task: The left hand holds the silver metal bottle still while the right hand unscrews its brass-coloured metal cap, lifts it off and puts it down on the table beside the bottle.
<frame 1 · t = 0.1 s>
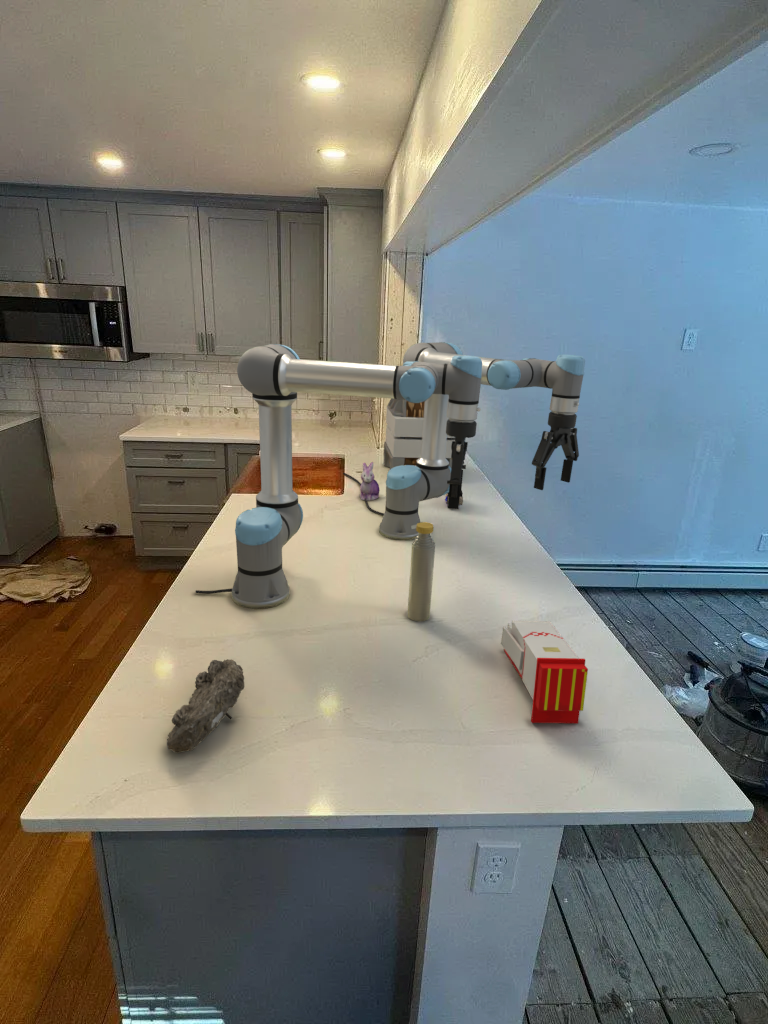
left hand: (454, 500, 149), 28 cm above the counter, tool pointing down, fingers open, 13 cm apart
right hand: (552, 485, 166), 28 cm above the counter, tool pointing down, fingers open, 13 cm apart
toy: (534, 680, 123), on the counter
bottle: (418, 615, 147), on the counter
cap: (424, 526, 139), point 25 cm above the counter, screwed on, not yet turned
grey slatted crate: (419, 473, 275), on the counter
fossil: (212, 717, 108), on the counter
figurine: (369, 498, 236), on the counter
figurine character: (452, 505, 232), on the counter
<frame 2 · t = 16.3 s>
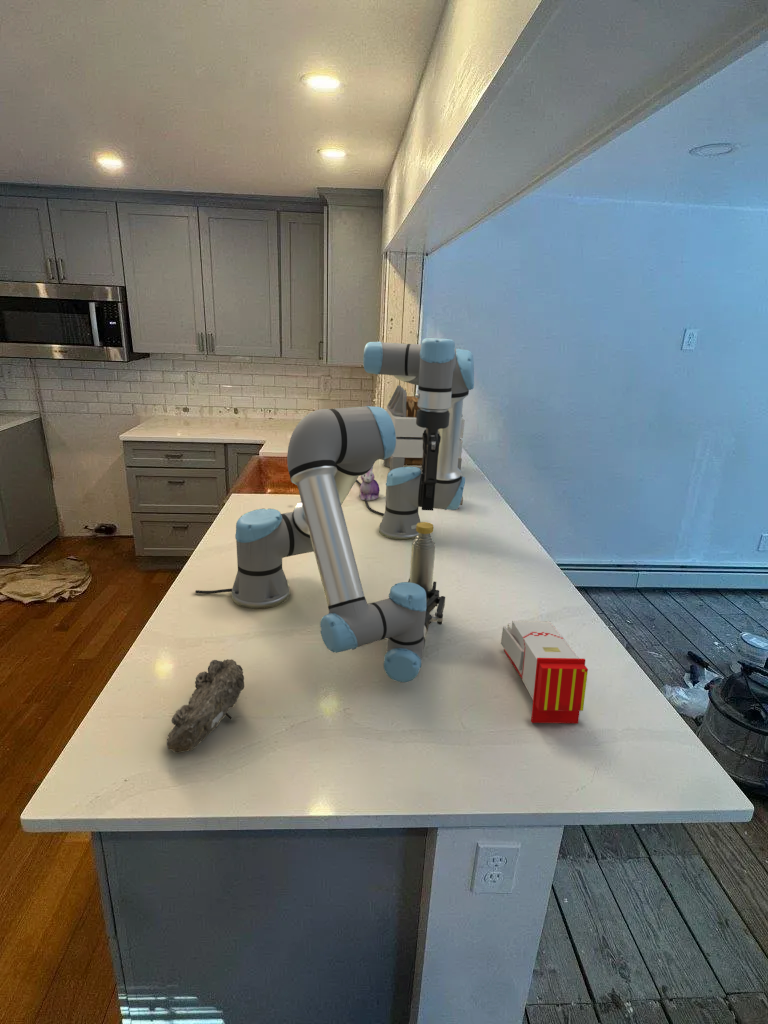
left hand: (422, 584, 150), 6 cm above the counter, tool horizontal, fingers closed on bottle, 6 cm apart
right hand: (426, 504, 137), 31 cm above the counter, tool pointing down, fingers open, 6 cm apart
bottle: (418, 615, 147), on the counter, touching left hand
everything else where it was.
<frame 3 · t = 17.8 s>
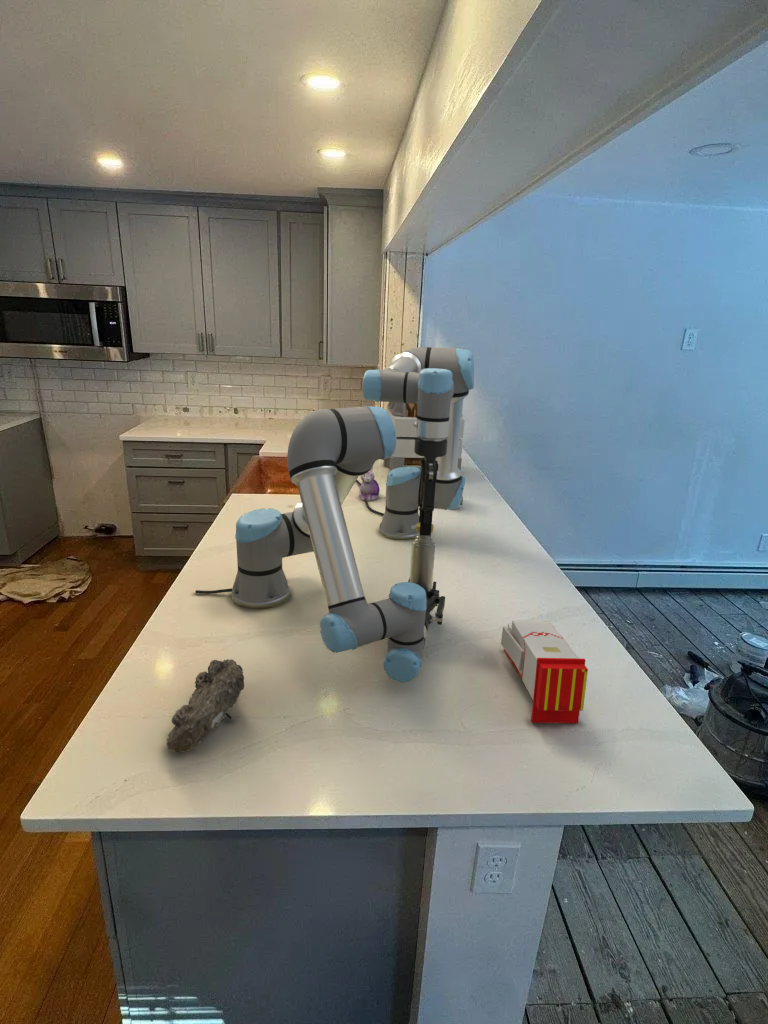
left hand: (422, 584, 150), 6 cm above the counter, tool horizontal, fingers closed on bottle, 6 cm apart
right hand: (424, 531, 139), 24 cm above the counter, tool pointing down, fingers closed on cap, 4 cm apart
bottle: (418, 615, 147), on the counter, touching left hand
cap: (424, 526, 139), point 25 cm above the counter, screwed on, not yet turned, touching right hand
everything else where it was.
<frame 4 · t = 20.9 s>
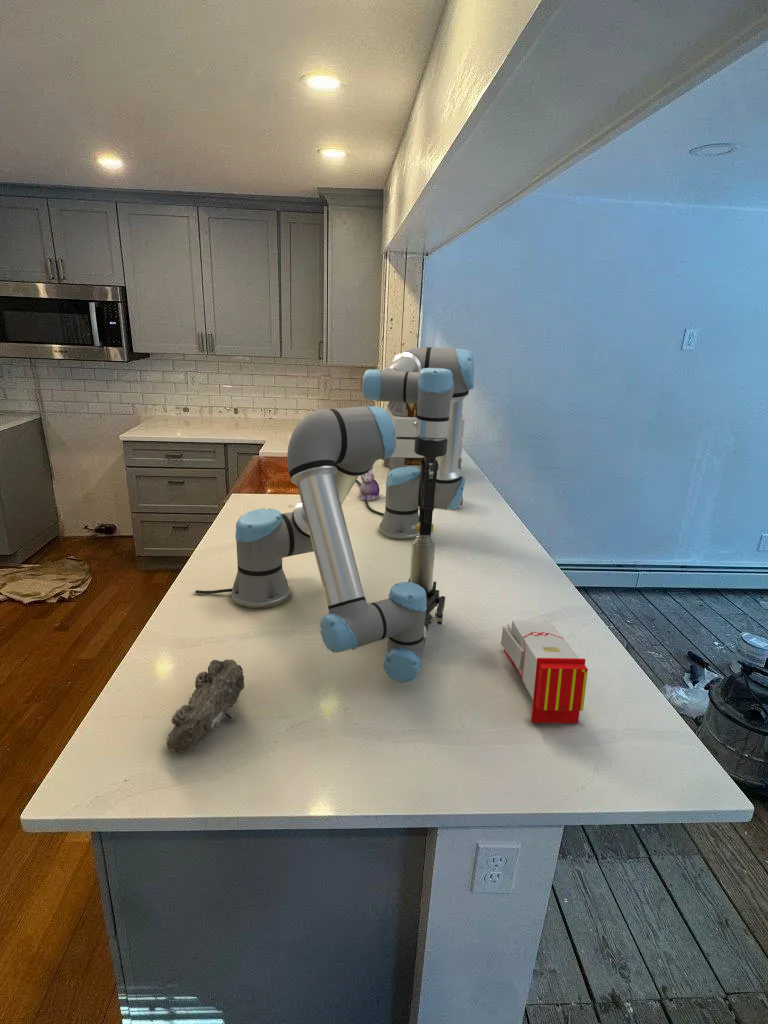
left hand: (422, 584, 150), 6 cm above the counter, tool horizontal, fingers closed on bottle, 6 cm apart
right hand: (424, 530, 139), 24 cm above the counter, tool pointing down, fingers closed on cap, 4 cm apart
bottle: (418, 615, 147), on the counter, touching left hand
cap: (424, 525, 139), point 25 cm above the counter, turned 77° so far, risen 0.1 cm, still on its thread, touching right hand
everything else where it was.
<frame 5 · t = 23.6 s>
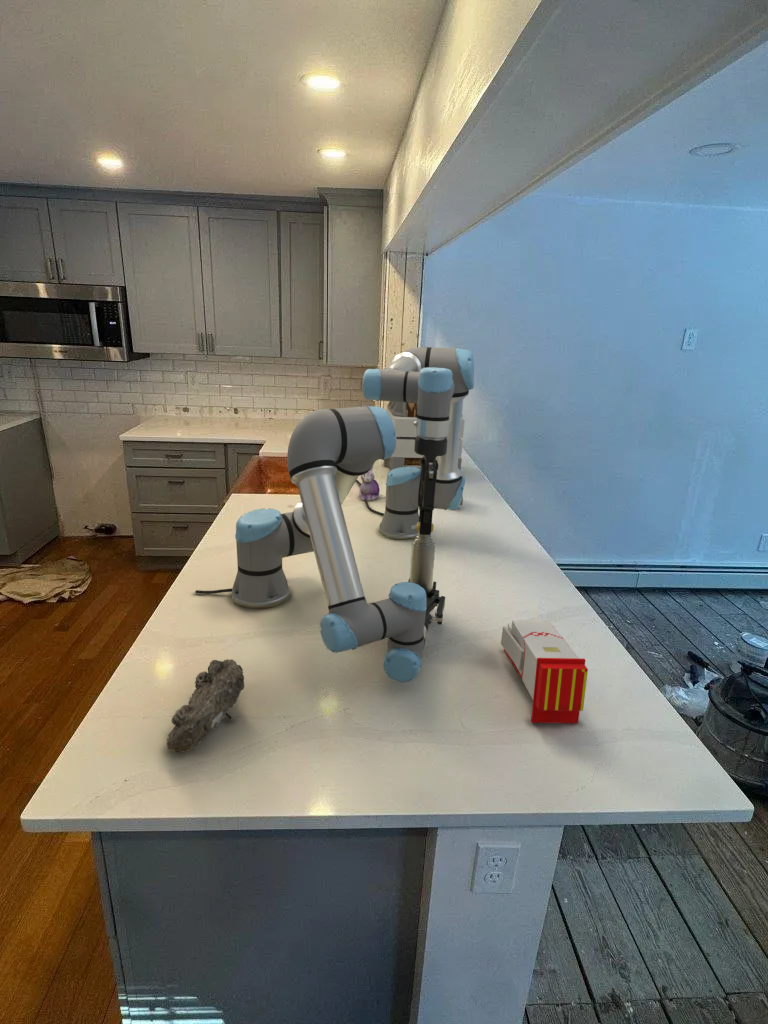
left hand: (422, 584, 150), 6 cm above the counter, tool horizontal, fingers closed on bottle, 6 cm apart
right hand: (424, 530, 139), 24 cm above the counter, tool pointing down, fingers closed on cap, 4 cm apart
bottle: (418, 615, 147), on the counter, touching left hand
cap: (425, 525, 139), point 25 cm above the counter, turned 154° so far, risen 0.2 cm, still on its thread, touching right hand
everything else where it was.
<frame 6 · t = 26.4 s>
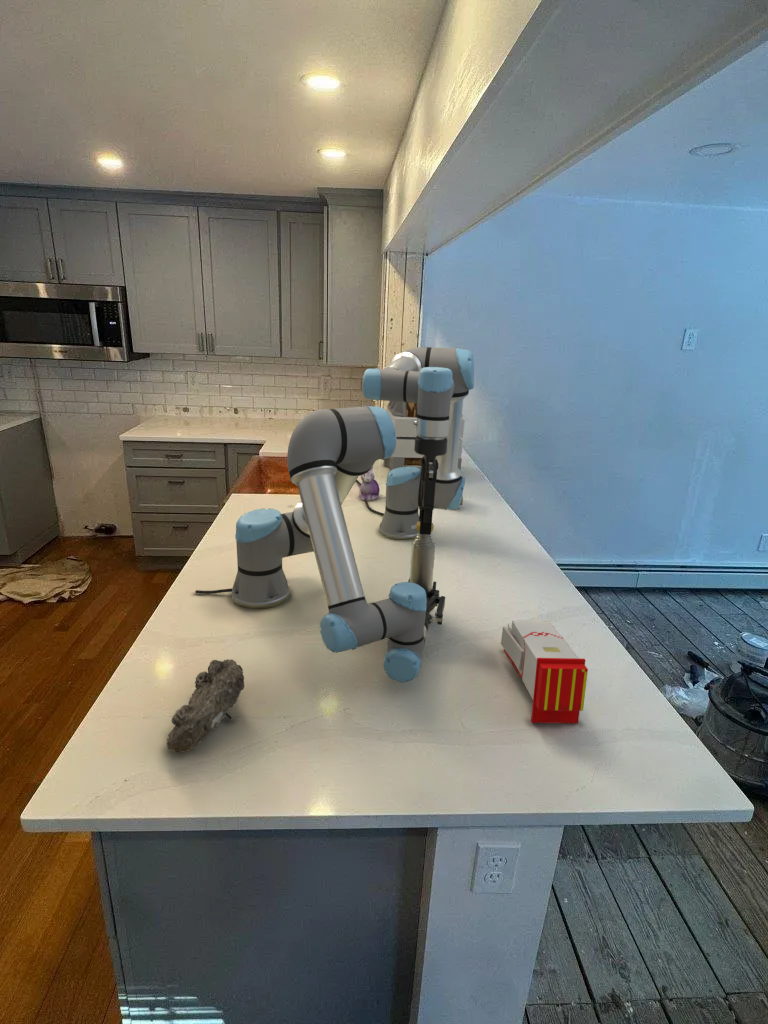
left hand: (422, 584, 150), 6 cm above the counter, tool horizontal, fingers closed on bottle, 6 cm apart
right hand: (424, 530, 139), 24 cm above the counter, tool pointing down, fingers closed on cap, 4 cm apart
bottle: (418, 615, 147), on the counter, touching left hand
cap: (425, 525, 139), point 25 cm above the counter, turned 231° so far, risen 0.3 cm, still on its thread, touching right hand
everything else where it was.
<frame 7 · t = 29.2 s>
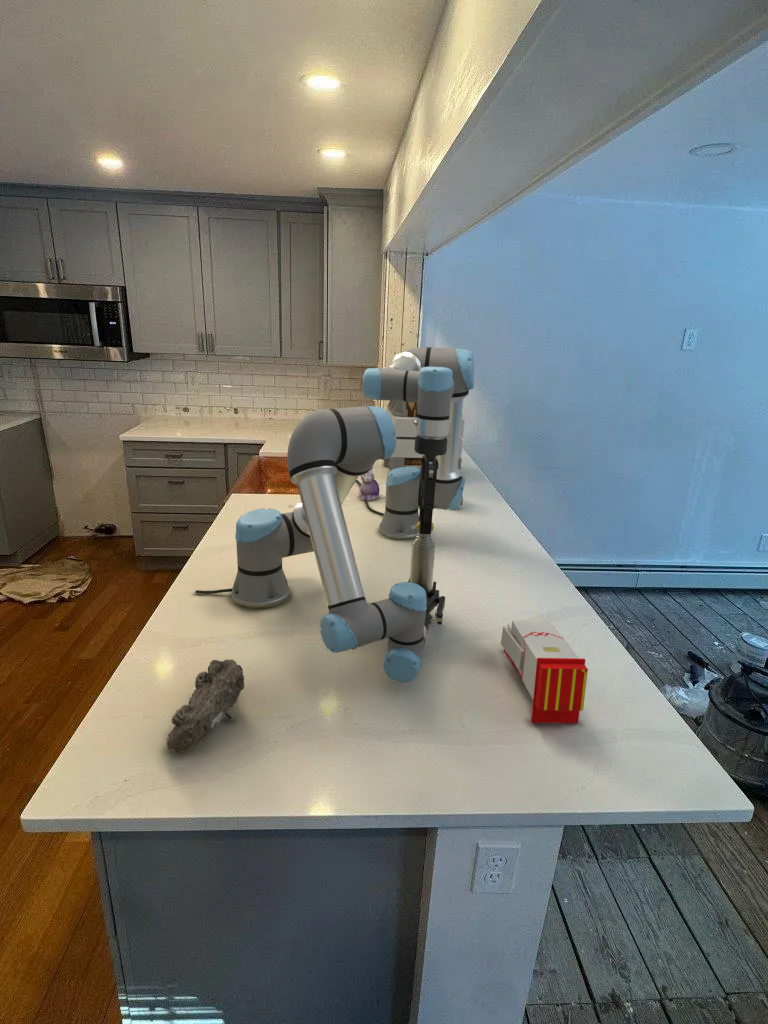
left hand: (422, 584, 150), 6 cm above the counter, tool horizontal, fingers closed on bottle, 6 cm apart
right hand: (424, 529, 139), 24 cm above the counter, tool pointing down, fingers closed on cap, 4 cm apart
bottle: (418, 615, 147), on the counter, touching left hand
cap: (425, 524, 139), point 25 cm above the counter, turned 308° so far, risen 0.4 cm, still on its thread, touching right hand
everything else where it was.
when the right hand's fingers open (1 cm above the counter, at t = 39.5 s): cap stays where it is, point 1 cm above the counter.
when the left hand's fingers open (6 cm above the counter, at t = 40.7 s): bottle stays where it is, on the counter.
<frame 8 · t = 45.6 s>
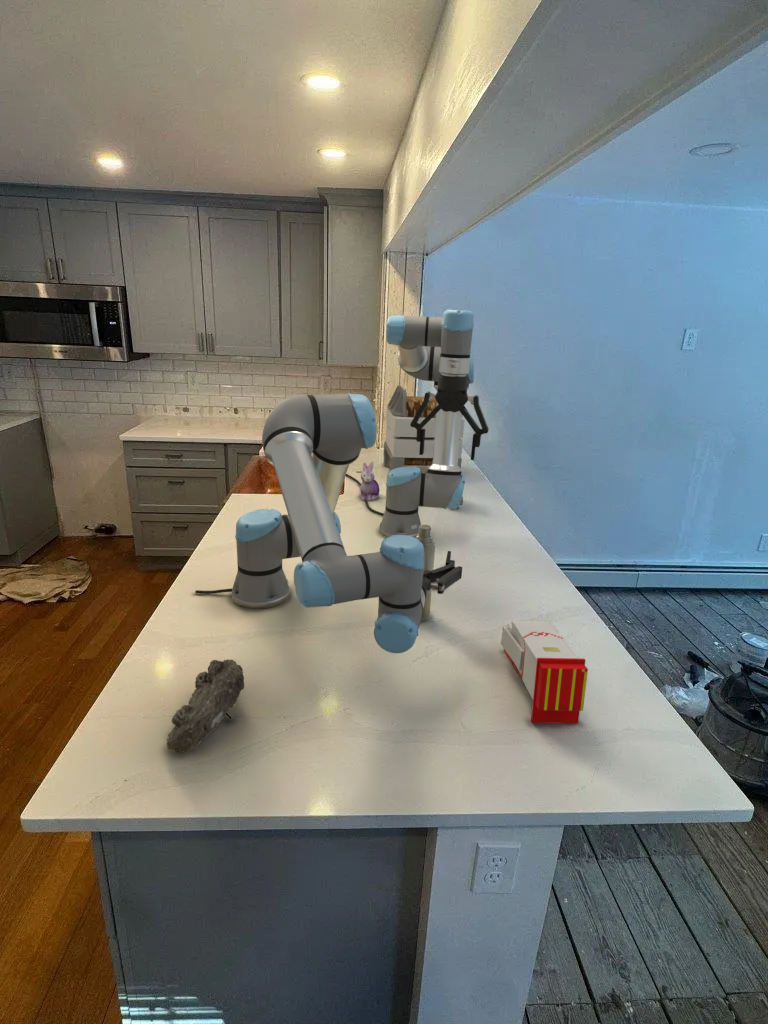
left hand: (419, 553, 130), 22 cm above the counter, tool horizontal, fingers open, 13 cm apart
right hand: (446, 456, 150), 38 cm above the counter, tool pointing down, fingers open, 13 cm apart
bottle: (418, 615, 147), on the counter
cap: (436, 582, 163), point 1 cm above the counter, off its thread
everything else where it was.
at the end: cap came off its thread; cap point 1.3 cm above the counter; the left hand is holding nothing; the right hand is holding nothing; bottle tilted 0°; bottle moved 0.0 cm from its start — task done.
